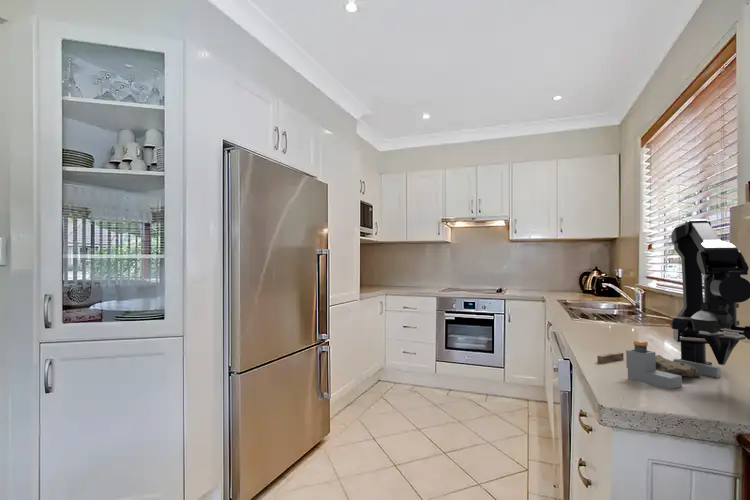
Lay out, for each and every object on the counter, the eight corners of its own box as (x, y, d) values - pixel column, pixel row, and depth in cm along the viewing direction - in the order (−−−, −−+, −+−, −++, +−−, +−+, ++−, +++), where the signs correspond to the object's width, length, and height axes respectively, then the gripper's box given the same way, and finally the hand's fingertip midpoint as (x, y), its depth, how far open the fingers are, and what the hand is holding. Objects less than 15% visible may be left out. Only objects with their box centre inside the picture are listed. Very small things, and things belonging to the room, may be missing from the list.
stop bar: (619, 358, 121) (618, 352, 121) (623, 359, 119) (623, 353, 119) (597, 362, 116) (597, 355, 116) (602, 363, 115) (601, 356, 115)
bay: (675, 367, 111) (675, 342, 111) (720, 377, 101) (719, 349, 102) (626, 377, 101) (626, 350, 101) (671, 389, 92) (670, 359, 92)
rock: (711, 382, 98) (710, 364, 98) (662, 382, 98) (662, 364, 98) (678, 369, 109) (678, 353, 109) (635, 369, 109) (635, 353, 109)
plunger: (638, 362, 102) (637, 340, 102) (650, 365, 100) (650, 342, 100) (631, 363, 101) (630, 341, 101) (643, 366, 98) (643, 343, 98)
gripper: (657, 297, 99) (659, 359, 98) (754, 304, 82) (756, 379, 82) (682, 295, 104) (684, 354, 103) (778, 301, 87) (781, 373, 86)
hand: (721, 364), depth 94 cm, fingers closed
